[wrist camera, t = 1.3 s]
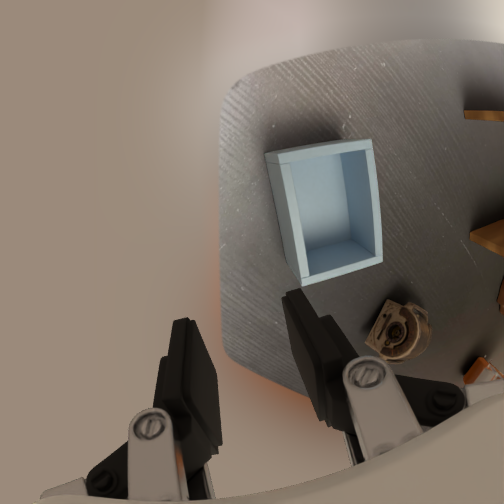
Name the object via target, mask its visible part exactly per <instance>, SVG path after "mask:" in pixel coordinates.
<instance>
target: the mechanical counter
mask: <svg viewBox="0 0 504 504" xmlns="http://www.w3.org/2000/svg"><path fill="white" fill-rule="evenodd" d="M413 309H415V310H417V311H419V312H421V313H422V317H421V316H420V315H419V314H417V313H415V312H414V311H413ZM431 336H432V326H431V325H430V324H428V313H427V312H426V311H425V310H424V309H422V308H420V307H419V306H417V305H415V304H413V303H410V302H408V303H407V304H406V305H405V306H402V305H400V304H398V303H395V302H393V301H391V300H389V299H387V300H386V302H385V304H384V306H383V308H382V310H381V312H380V314H379V316H378V318H377V320H376V322H375V324H374V326H373V328H372V330H371V332H370V334H369V335H368V337H367V339H366V341H365V344H367V345H368V346H369V347H370V348H372V349H373V350H375V351H376V352H378V353H379V358H381V359H383V360H385V361H386V362H387V363H388V364H401V363H403V362H405V361H406V360H410V359H413V358H415V357H416V356H418V355H419V354H421V353H422V352H423V351H424V350H425V349H426V348H427V347H428V345H429V343H430V341H431Z"/></svg>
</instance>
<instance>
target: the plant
mask: <svg viewBox="0 0 504 504" xmlns="http://www.w3.org/2000/svg"><path fill="white" fill-rule="evenodd" d="M497 302H498V303H499V304H500V313H501V314H503V315H504V279H503V282H502V285H501V288H500V292H499V296H498V299H497Z"/></svg>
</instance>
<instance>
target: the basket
mask: <svg viewBox="0 0 504 504" xmlns="http://www.w3.org/2000/svg"><path fill="white" fill-rule="evenodd" d="M372 148H373V147H372V140H371V139H342V140H335V141H328V142H322V143H315V144H309V145H304V146H298V147H292V148H287V149H282V150H277V151H272V152H267V153H264V156H265V161H266V165H267V170H268V175H269V179H270V184H271V189H272V193H273V198H274V203H275V208H276V213H277V218H278V223H279V228H280V233H281V238H282V243H283V248H284V253H285V258H286V263H287V264H288V265H289V267H290V268H291V270H292V272H293V273H294V275H295V276H296V278H297V279H298V281H299V282H300V284H301V285H302V286H306V285H309V284H313V283H316V282H320V281H323V280H326V279H330V278H333V277H336V276H340V275H343V274H346V273H349V272H352V271H356V270H359V269H362V268H365V267H368V266H371V265H374V264H377V263H380V262H383V255H382V254H383V252H382V230H381V215H380V203H379V193H378V183H377V175H376V167H375V160H374V153H373V149H372Z"/></svg>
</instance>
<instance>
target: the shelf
mask: <svg viewBox="0 0 504 504" xmlns="http://www.w3.org/2000/svg"><path fill="white" fill-rule="evenodd" d="M464 115H465V119H473V120H489V121H501V122H504V111H483V110H464ZM470 240H471V241H473V242H475V243H477V244H479V245H481V246H483V247H485V248H487V249H489V250H491V251H493V252H495V253H497V254H499V255H501V256H503V257H504V219H502V220H499V221H497V222H494V223H492V224H490V225H487V226H485V227H482V228H480V229H477V230H475V231H472V232H470Z"/></svg>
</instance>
